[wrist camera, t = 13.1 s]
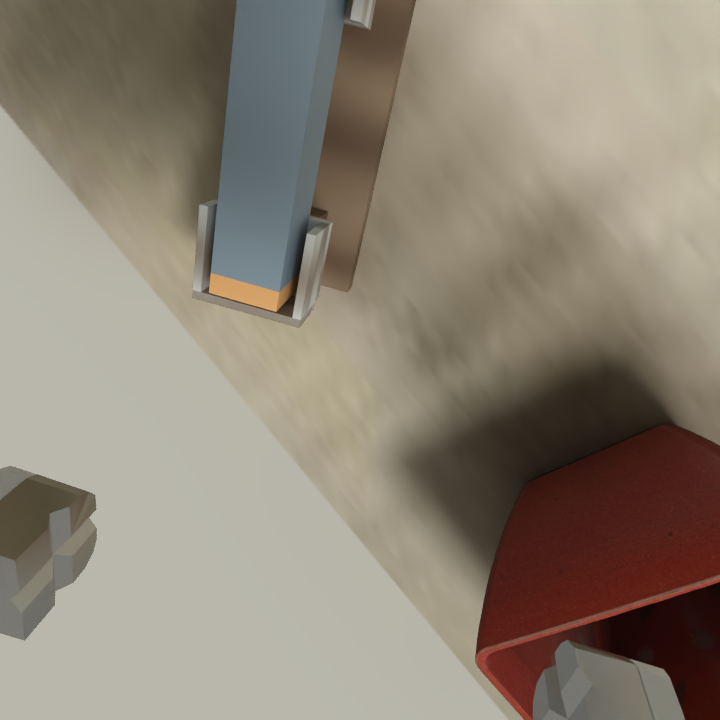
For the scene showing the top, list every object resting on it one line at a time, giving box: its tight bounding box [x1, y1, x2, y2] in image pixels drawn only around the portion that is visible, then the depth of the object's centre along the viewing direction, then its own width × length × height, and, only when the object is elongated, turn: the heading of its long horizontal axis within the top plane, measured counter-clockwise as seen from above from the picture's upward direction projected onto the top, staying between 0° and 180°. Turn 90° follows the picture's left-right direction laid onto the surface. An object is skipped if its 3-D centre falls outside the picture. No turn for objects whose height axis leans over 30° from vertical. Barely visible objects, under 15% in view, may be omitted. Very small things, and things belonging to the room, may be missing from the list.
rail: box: [209, 0, 348, 312], centre depth 27 cm, size 20×4×4 cm, turn 167°
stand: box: [192, 0, 416, 328], centre depth 30 cm, size 22×9×10 cm, turn 167°
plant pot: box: [475, 424, 720, 720], centre depth 36 cm, size 19×19×17 cm
